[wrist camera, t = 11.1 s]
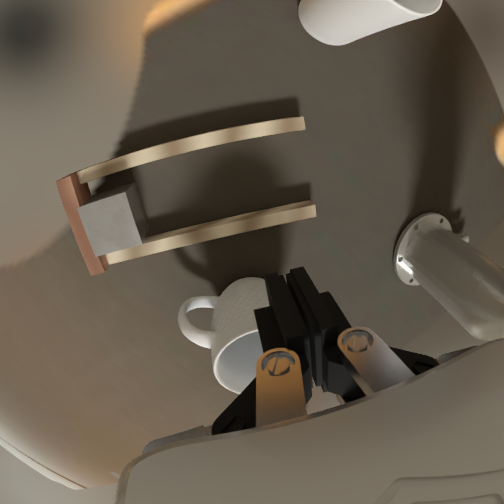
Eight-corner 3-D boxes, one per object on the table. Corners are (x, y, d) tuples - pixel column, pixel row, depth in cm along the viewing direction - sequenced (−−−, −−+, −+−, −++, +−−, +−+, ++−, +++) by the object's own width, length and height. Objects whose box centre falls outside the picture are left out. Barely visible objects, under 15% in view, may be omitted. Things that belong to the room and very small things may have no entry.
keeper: (135, 181, 32) (125, 191, 28) (149, 227, 35) (142, 244, 31) (91, 195, 32) (76, 207, 28) (107, 239, 35) (95, 256, 30)
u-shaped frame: (298, 116, 32) (309, 116, 28) (310, 211, 37) (322, 222, 34) (70, 174, 30) (55, 181, 27) (100, 260, 36) (91, 275, 32)
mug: (174, 317, 41) (169, 388, 29) (188, 248, 37) (184, 311, 25) (272, 332, 45) (293, 398, 33) (298, 270, 41) (332, 332, 29)
